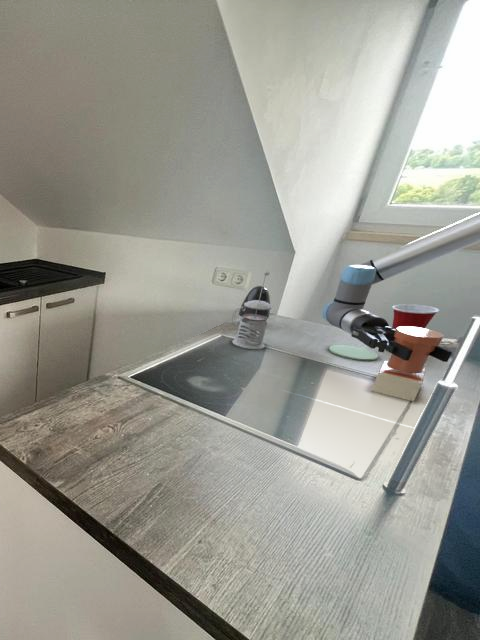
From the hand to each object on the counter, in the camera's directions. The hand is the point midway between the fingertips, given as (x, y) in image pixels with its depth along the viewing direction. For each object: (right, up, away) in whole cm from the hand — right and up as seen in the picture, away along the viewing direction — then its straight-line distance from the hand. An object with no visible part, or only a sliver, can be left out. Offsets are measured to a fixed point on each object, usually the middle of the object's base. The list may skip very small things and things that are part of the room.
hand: (428, 356), depth 94 cm
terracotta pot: (+1, -3, +7) cm, 7 cm away
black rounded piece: (-5, +13, +58) cm, 60 cm away
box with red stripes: (+1, -9, +9) cm, 13 cm away
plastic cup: (+34, +5, +39) cm, 52 cm away
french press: (-19, +5, +41) cm, 45 cm away
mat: (+9, +1, +31) cm, 32 cm away
